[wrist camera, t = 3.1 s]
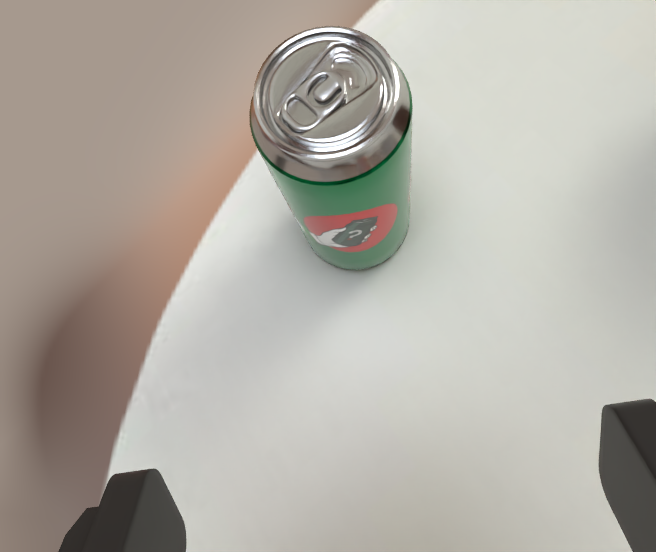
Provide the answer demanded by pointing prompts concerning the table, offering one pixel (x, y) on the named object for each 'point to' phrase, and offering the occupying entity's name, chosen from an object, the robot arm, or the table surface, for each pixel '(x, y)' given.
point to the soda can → (338, 142)
